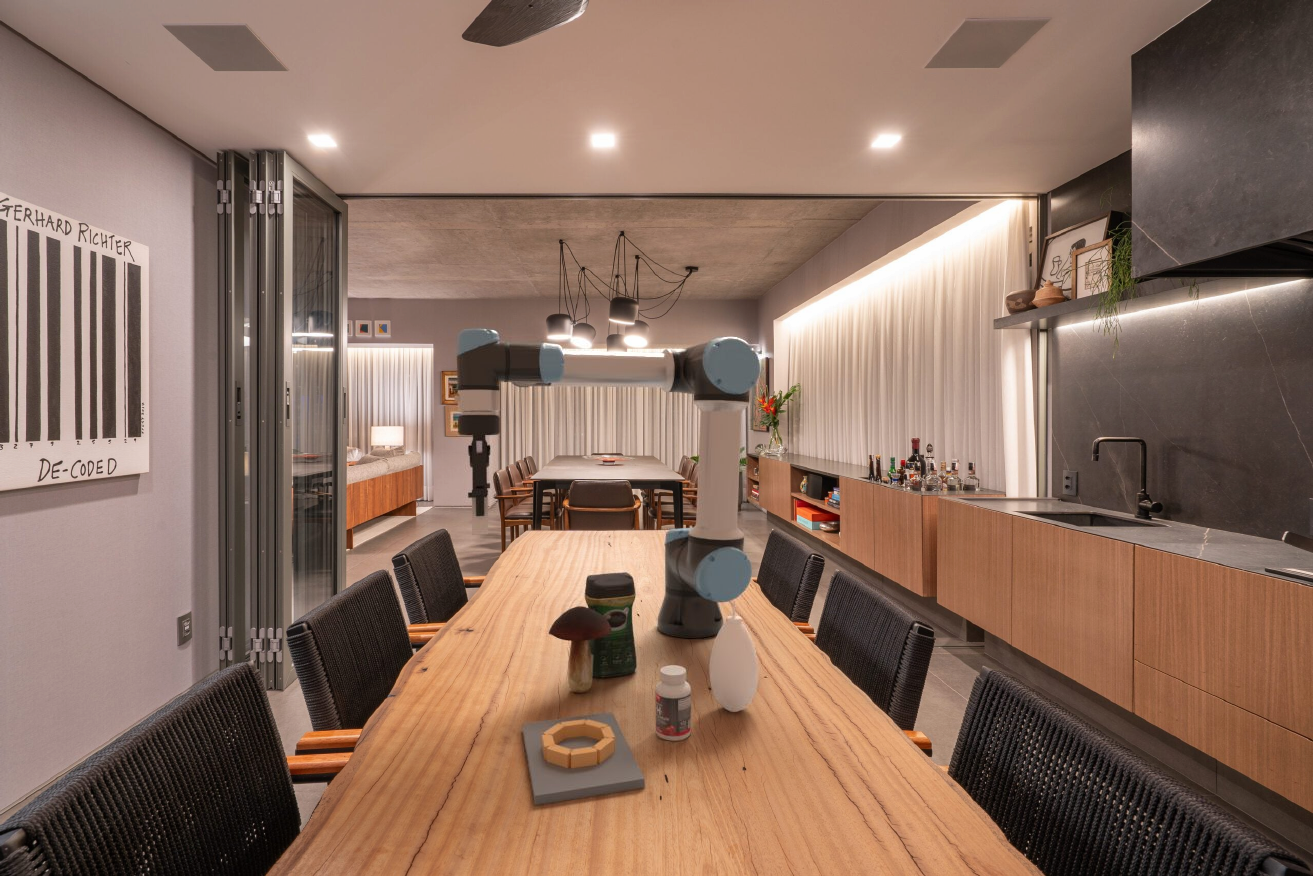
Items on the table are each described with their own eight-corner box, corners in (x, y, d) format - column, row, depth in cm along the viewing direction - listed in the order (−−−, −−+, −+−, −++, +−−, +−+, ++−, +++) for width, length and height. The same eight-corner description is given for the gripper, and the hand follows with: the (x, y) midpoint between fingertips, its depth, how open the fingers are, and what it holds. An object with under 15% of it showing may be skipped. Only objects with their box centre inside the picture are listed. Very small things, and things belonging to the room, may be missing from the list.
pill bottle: (648, 734, 98) (648, 670, 98) (670, 722, 102) (670, 660, 102) (676, 746, 95) (676, 679, 94) (698, 732, 99) (698, 669, 98)
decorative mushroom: (542, 685, 116) (542, 602, 116) (600, 675, 121) (600, 595, 120) (558, 710, 106) (557, 619, 106) (620, 698, 111) (620, 611, 110)
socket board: (612, 719, 103) (612, 701, 103) (644, 787, 84) (644, 764, 84) (522, 731, 99) (522, 711, 99) (534, 805, 80) (534, 781, 80)
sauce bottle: (727, 724, 101) (727, 610, 101) (700, 705, 108) (701, 598, 108) (767, 714, 105) (767, 603, 104) (739, 696, 112) (740, 592, 111)
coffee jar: (629, 660, 128) (629, 567, 128) (640, 675, 121) (640, 576, 121) (581, 666, 125) (580, 571, 125) (589, 681, 118) (589, 580, 118)
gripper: (459, 414, 131) (461, 519, 131) (455, 413, 107) (456, 541, 107) (498, 414, 133) (499, 517, 133) (501, 412, 109) (503, 538, 109)
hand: (480, 528), depth 120 cm, fingers open, 13 cm apart
